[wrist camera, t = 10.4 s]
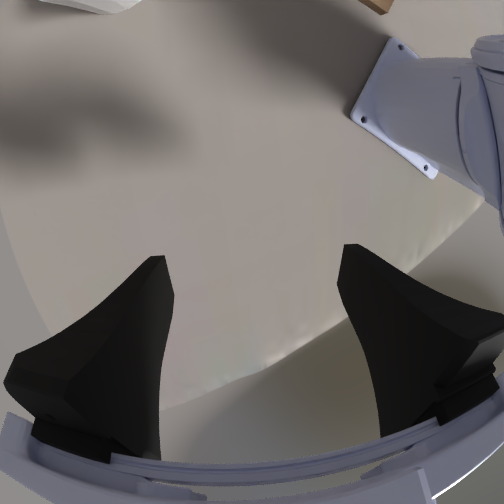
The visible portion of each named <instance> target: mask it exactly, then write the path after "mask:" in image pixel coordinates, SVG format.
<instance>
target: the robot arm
mask: <svg viewBox="0 0 504 504" xmlns="http://www.w3.org/2000/svg"><path fill="white" fill-rule="evenodd" d="M398 45H400V47H401V50H400V49H399V47H398ZM471 55H472V58H420V57H418V56H417V55H416V54H415V53H414V52H413V51H412V50H411V49H409V48H408V47H407V46H406V45H405V44H404V43H402V42H401V41H400V40H399V39H397V38H395V37H392V38H389V40H388V41H387V43H386V45H385V47H384V49H383V51H382V53H381V55H380V57H379V59H378V61H377V63H376V65H375V67H374V69H373V71H372V73H371V75H370V77H369V78H368V80H367V82H366V84H365V86H364V88H363V90H362V92H361V94H360V96H359V98H358V99H357V101H356V103H355V105H354V107H353V109H352V111H351V113H350V117H351V119H352V120H353V121H354V122H355V123H357V124H358V125H360V126H361V127H363V128H364V129H366V130H367V131H369V132H370V133H372V134H373V135H374V136H376V137H377V138H379V139H380V140H381V141H383V142H384V143H386V144H387V145H388V146H390V147H391V148H392V149H394V150H395V151H396V152H397V153H399V154H400V155H401V156H403V157H404V158H405V159H406V160H408V161H409V162H410V163H411V164H412V165H414V166H415V167H416V168H417V169H418V170H420V171H421V172H422V173H423V174H424V175H425V176H427V177H428V178H430V179H434V178H435V176H436V175H437V173H438V171H439V172H441V173H443V174H445V175H447V176H448V177H450V178H452V179H454V180H455V181H457V182H459V183H461V184H462V185H464V186H466V187H467V188H469V189H471V190H472V191H474V192H475V193H477V194H479V195H480V196H483V197H485V201H486V202H487V203H489V204H490V205H492V206H493V207H495V208H496V209H498V210H499V221H500V227H501V230H502V233H503V235H504V35H490V36H483V37H480V38H478V39H477V40H476V42H475V45H474V47H472V48H471ZM362 116H364V117H365V121H364V122H363V123H362V122H361V118H362ZM424 166H426V167H425V169H424ZM337 286H338V289H339V293H340V296H341V299H342V302H343V305H344V307H345V310H346V312H347V314H348V316H349V318H350V321H351V323H352V325H353V327H354V329H355V332H356V334H357V336H358V338H359V340H360V343H361V345H362V348H363V350H364V353H365V356H366V359H367V363H368V367H369V370H370V374H371V378H372V383H373V387H374V391H375V397H376V402H377V408H378V416H379V424H380V435H381V438H380V439H377V440H374V441H371V442H367V443H364V444H360V445H356V446H353V447H349V448H345V449H341V450H337V451H332V452H328V453H323V454H318V455H312V456H307V457H301V458H294V459H287V460H279V461H269V462H258V463H241V464H197V463H179V462H169V461H161V451H160V437H159V390H160V376H161V367H162V361H163V356H164V351H165V347H166V342H167V338H168V333H169V329H170V324H171V320H172V314H173V305H174V292H173V288H172V284H171V280H170V276H169V272H168V268H167V264H166V259H165V255H162V256H150V257H149V258H148V259H147V260H145V261H144V262H143V263H142V264H141V265H140V266H139V267H138V268H137V269H136V270H135V271H134V272H133V273H132V274H131V275H130V276H129V277H128V278H127V279H126V280H125V281H124V282H123V283H122V284H121V285H120V286H119V287H118V288H117V289H115V290H114V291H113V292H112V293H111V294H110V295H109V296H108V297H107V298H106V299H105V300H104V301H102V302H101V303H100V304H99V305H98V306H96V307H95V308H94V309H93V310H91V311H90V312H89V313H88V314H86V315H85V316H84V317H82V318H81V319H79V320H78V321H76V322H75V323H73V324H72V325H70V326H69V327H67V328H66V329H65V330H63V331H61V332H60V333H58V334H56V335H55V336H53V337H51V338H49V339H47V340H46V341H44V342H42V343H40V344H38V345H36V346H33V347H31V348H29V349H27V350H25V351H22V352H20V353H18V354H16V355H15V357H14V359H13V362H12V364H11V366H10V368H9V370H8V373H7V375H6V377H5V379H4V382H3V383H4V386H5V388H6V390H7V391H8V393H9V394H10V395H11V396H12V397H13V398H14V399H15V400H16V401H17V402H18V403H19V404H20V405H21V406H23V407H24V408H25V409H26V410H27V411H28V412H29V413H31V414H32V415H33V416H34V417H35V421H34V424H33V423H31V422H29V421H28V420H26V419H24V418H22V417H19V416H17V415H15V414H13V413H11V412H7V415H6V418H5V421H4V425H3V428H2V431H1V435H0V470H1V471H3V472H4V473H6V474H7V475H9V476H10V477H12V478H13V479H15V480H16V481H18V482H19V483H21V484H22V485H24V486H25V487H27V488H29V489H30V490H32V491H33V492H35V493H37V494H38V495H40V496H42V497H43V498H45V499H47V500H49V501H51V502H52V503H54V504H437V503H436V499H435V498H436V497H437V496H439V495H440V494H442V493H443V492H445V491H446V490H448V489H449V488H451V487H452V486H454V485H455V484H456V483H458V482H459V481H460V480H462V479H463V478H464V477H466V476H467V475H468V474H469V473H471V472H472V471H473V470H474V469H476V468H477V467H478V466H479V465H480V464H481V463H483V462H484V461H485V460H486V459H487V458H489V457H490V456H491V455H492V454H493V453H494V452H495V451H496V450H497V449H498V448H499V447H500V446H501V445H502V444H503V443H504V372H503V373H502V374H500V375H499V376H498V377H497V378H496V379H495V377H494V376H493V374H492V373H494V372H495V370H496V368H495V366H494V364H493V362H494V361H495V359H496V358H497V357H498V356H499V354H500V353H501V352H502V350H503V349H504V315H503V314H501V313H498V312H494V311H490V310H485V309H481V308H478V307H475V306H472V305H469V304H466V303H463V302H461V301H458V300H455V299H453V298H451V297H448V296H446V295H443V294H442V293H439V292H437V291H435V290H433V289H431V288H429V287H428V286H426V285H423V284H422V283H420V282H418V281H416V280H415V279H413V278H411V277H410V276H408V275H407V274H405V273H403V272H402V271H400V270H398V269H397V268H395V267H394V266H392V265H391V264H389V263H388V262H386V261H385V260H383V259H382V258H380V257H379V256H377V255H376V254H374V253H373V252H371V251H369V250H368V249H366V248H364V247H363V246H361V245H359V244H344V248H343V254H342V260H341V265H340V271H339V276H338V281H337ZM403 451H405V452H403ZM400 452H403V453H401V454H399V455H397V456H395V457H392V458H390V459H388V460H385V461H383V462H382V463H381V464H380V465H379V466H377V467H375V468H374V469H372V470H370V471H368V472H366V473H364V474H362V475H361V480H359V481H356V482H353V483H349V484H345V485H341V486H337V487H333V488H328V489H324V490H319V491H314V492H308V493H303V494H296V495H290V496H283V497H275V498H265V499H254V500H237V501H207V496H206V495H204V494H199V493H195V492H193V491H191V489H189V488H184V487H177V486H170V485H165V484H160V483H155V482H163V483H171V484H182V485H194V486H250V485H251V486H252V485H265V484H276V483H284V482H291V481H298V480H304V479H310V478H315V477H320V476H325V475H329V474H334V473H338V472H342V471H346V470H349V469H353V468H357V467H360V466H363V465H367V464H370V463H373V462H376V461H379V460H382V459H385V458H387V457H390V456H393V455H395V454H398V453H400ZM152 481H155V482H152Z"/></svg>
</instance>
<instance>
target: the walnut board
mask: <svg viewBox="0 0 504 504" xmlns="http://www.w3.org/2000/svg"><path fill="white" fill-rule="evenodd" d="M359 1H360V2H362V3H364V4H365V5H367V6H368V7H370V8H371V9H372V10H374V11H375V12H377V13H378V14H380V15H383V14H386V13H388V11H389V9H390V7H391V5H392V3H393V1H394V0H359Z"/></svg>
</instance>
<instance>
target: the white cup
mask: <svg viewBox="0 0 504 504" xmlns="http://www.w3.org/2000/svg"><path fill="white" fill-rule="evenodd" d="M40 1H42V2H49V3H55V4H60V5H65V6H70V7H74V8H78V9H82V10H86V11H90V12H94V13H97V14H115V13H118V12H121V11H124V10H127V9H129V8H131V7H132V6H134V5H135V4H137V3H139V2H140V1H142V0H40Z"/></svg>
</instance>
